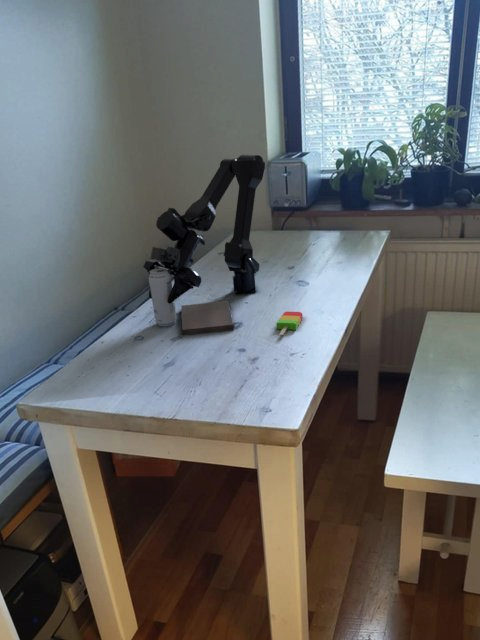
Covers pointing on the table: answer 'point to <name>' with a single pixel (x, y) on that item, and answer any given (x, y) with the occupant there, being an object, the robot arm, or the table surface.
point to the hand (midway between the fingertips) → (159, 300)
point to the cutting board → (206, 318)
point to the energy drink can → (162, 297)
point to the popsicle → (289, 321)
